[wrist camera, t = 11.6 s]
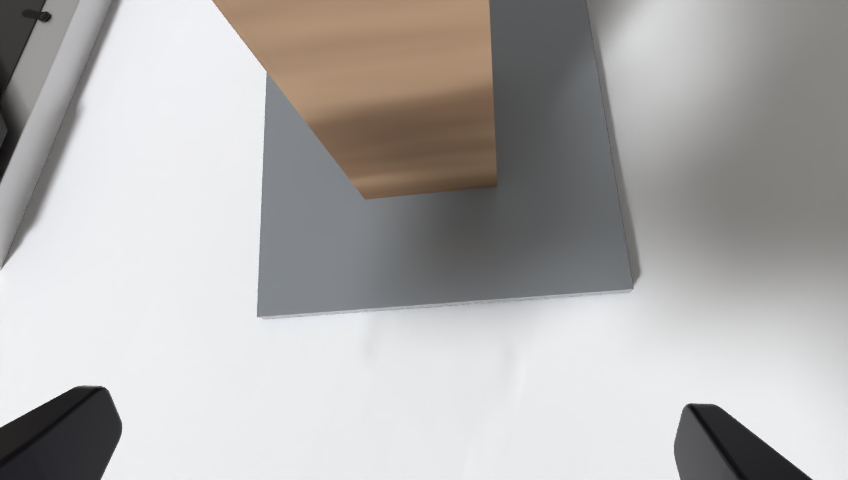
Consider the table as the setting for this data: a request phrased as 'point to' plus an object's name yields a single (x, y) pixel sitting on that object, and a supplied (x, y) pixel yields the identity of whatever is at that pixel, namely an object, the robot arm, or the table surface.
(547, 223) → the coaster
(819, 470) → the table surface
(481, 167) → the block
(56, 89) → the picture frame
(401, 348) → the table surface
